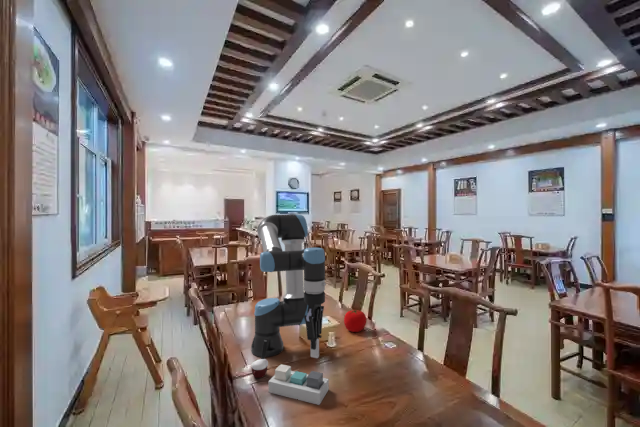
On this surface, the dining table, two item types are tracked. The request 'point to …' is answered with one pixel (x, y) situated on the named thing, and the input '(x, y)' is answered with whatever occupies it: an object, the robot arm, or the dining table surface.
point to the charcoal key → (315, 380)
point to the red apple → (355, 320)
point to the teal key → (299, 378)
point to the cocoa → (260, 364)
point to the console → (298, 390)
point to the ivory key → (283, 372)
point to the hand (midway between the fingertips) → (314, 356)
